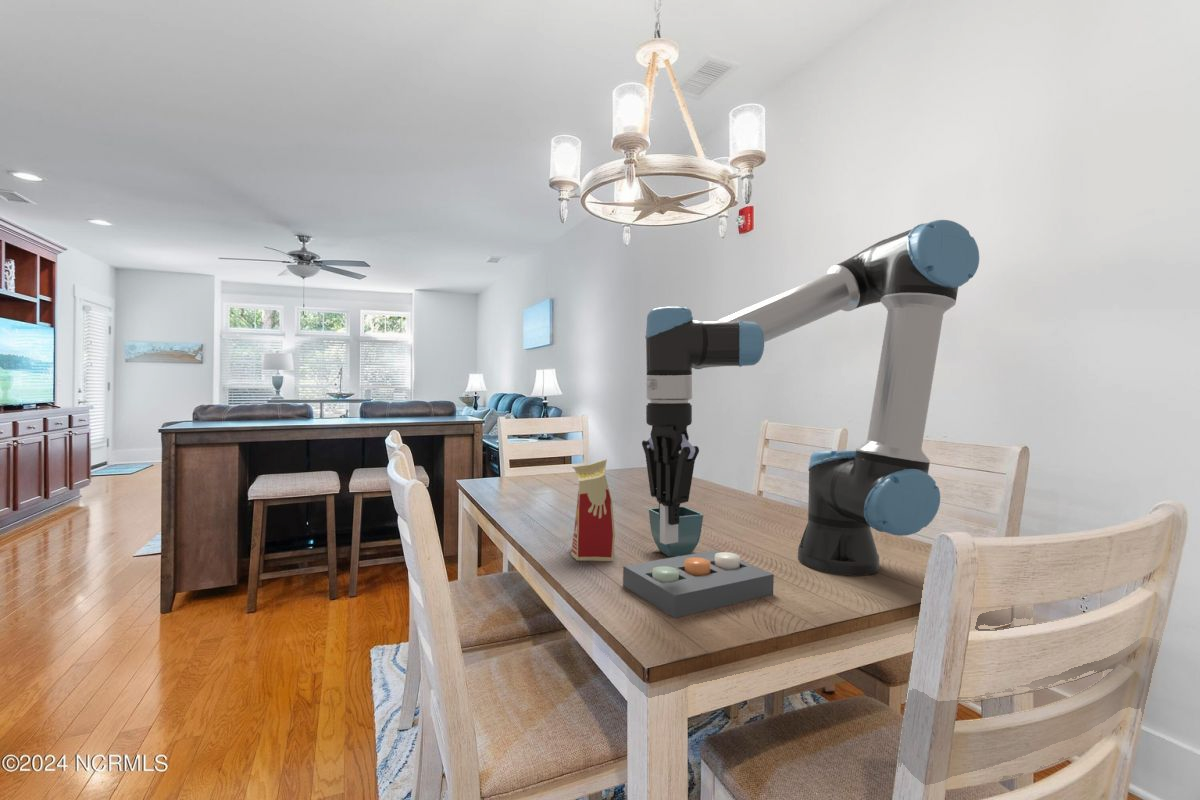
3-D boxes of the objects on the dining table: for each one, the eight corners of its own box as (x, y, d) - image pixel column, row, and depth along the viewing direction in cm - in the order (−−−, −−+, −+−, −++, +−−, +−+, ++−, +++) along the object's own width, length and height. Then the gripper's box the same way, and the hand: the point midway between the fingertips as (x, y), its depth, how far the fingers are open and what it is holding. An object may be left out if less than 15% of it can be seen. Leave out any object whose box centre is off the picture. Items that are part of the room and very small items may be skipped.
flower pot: (646, 549, 117) (647, 508, 117) (682, 545, 120) (683, 505, 120) (665, 561, 109) (666, 517, 109) (703, 557, 112) (704, 514, 112)
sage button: (668, 579, 94) (668, 564, 94) (683, 588, 90) (684, 572, 90) (647, 583, 92) (647, 568, 92) (662, 592, 88) (662, 576, 88)
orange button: (699, 570, 97) (699, 556, 97) (715, 578, 93) (715, 563, 93) (679, 574, 95) (679, 559, 95) (695, 582, 91) (695, 567, 91)
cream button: (727, 564, 100) (728, 551, 100) (744, 572, 96) (745, 557, 96) (709, 568, 98) (709, 554, 98) (726, 576, 94) (726, 561, 94)
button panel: (714, 567, 106) (715, 550, 106) (773, 594, 93) (773, 574, 92) (623, 585, 96) (623, 565, 95) (674, 618, 82) (674, 595, 82)
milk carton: (613, 547, 118) (614, 456, 117) (615, 561, 108) (617, 462, 108) (571, 547, 117) (572, 455, 117) (570, 561, 108) (571, 461, 108)
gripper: (628, 401, 94) (629, 535, 94) (674, 403, 82) (674, 556, 83) (664, 400, 97) (664, 530, 98) (712, 402, 86) (712, 549, 87)
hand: (669, 542), depth 91 cm, fingers closed
